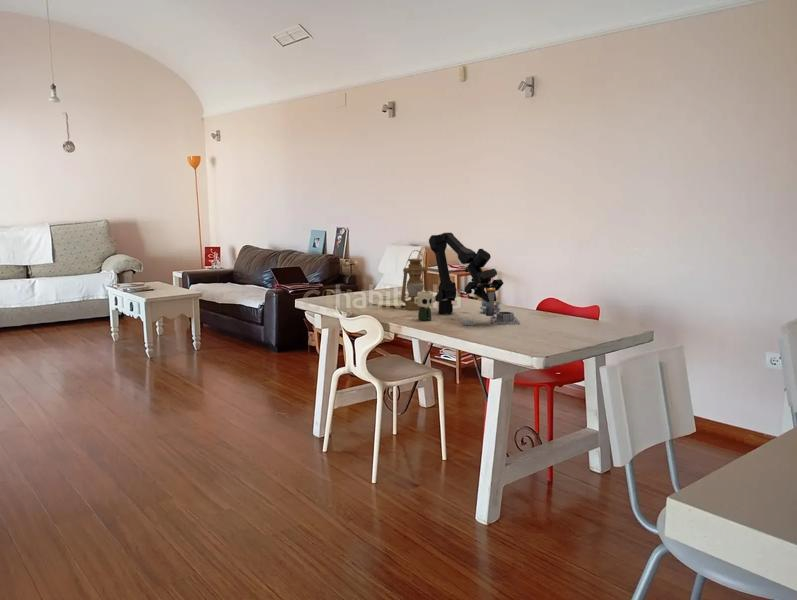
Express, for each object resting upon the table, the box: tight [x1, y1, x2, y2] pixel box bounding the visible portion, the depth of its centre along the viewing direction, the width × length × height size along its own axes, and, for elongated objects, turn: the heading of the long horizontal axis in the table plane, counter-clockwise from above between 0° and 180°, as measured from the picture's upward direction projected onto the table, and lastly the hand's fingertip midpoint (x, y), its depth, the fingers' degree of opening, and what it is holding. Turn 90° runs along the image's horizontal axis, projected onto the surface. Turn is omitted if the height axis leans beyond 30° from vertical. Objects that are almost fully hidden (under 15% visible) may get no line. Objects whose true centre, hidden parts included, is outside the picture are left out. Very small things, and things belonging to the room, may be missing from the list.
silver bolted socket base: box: [489, 311, 521, 325], centre depth 298 cm, size 12×12×4 cm
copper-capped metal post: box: [485, 287, 496, 317], centre depth 287 cm, size 4×4×12 cm
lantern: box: [400, 250, 430, 311], centre depth 328 cm, size 15×10×30 cm
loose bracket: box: [461, 316, 475, 326], centre depth 292 cm, size 5×8×2 cm, turn 178°
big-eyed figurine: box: [414, 291, 436, 321], centre depth 300 cm, size 11×7×13 cm, turn 114°
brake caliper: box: [479, 298, 501, 315], centre depth 320 cm, size 11×11×12 cm
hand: (492, 301), depth 286 cm, fingers closed on copper-capped metal post, 4 cm apart
